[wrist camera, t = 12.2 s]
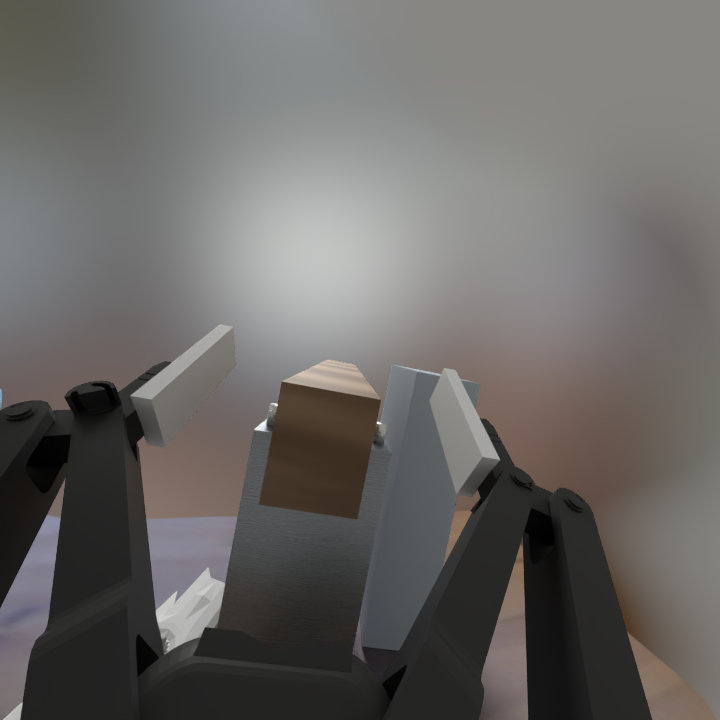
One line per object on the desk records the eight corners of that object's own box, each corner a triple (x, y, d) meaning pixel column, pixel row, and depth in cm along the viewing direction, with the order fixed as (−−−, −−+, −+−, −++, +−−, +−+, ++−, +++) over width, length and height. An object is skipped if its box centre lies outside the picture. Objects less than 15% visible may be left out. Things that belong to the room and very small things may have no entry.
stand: (361, 646, 27) (416, 371, 27) (355, 546, 41) (391, 364, 41) (424, 654, 28) (480, 383, 27) (397, 552, 42) (434, 372, 41)
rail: (357, 519, 10) (381, 399, 10) (258, 504, 10) (281, 381, 10) (348, 397, 38) (354, 364, 38) (321, 392, 38) (327, 359, 38)
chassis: (193, 752, 19) (257, 408, 18) (263, 567, 35) (298, 381, 34) (329, 764, 19) (395, 433, 19) (336, 577, 35) (372, 395, 35)
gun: (183, 547, 31) (256, 576, 30) (179, 573, 32) (251, 603, 30) (-117, 811, 13) (24, 923, 12) (-120, 865, 14) (17, 982, 12)
